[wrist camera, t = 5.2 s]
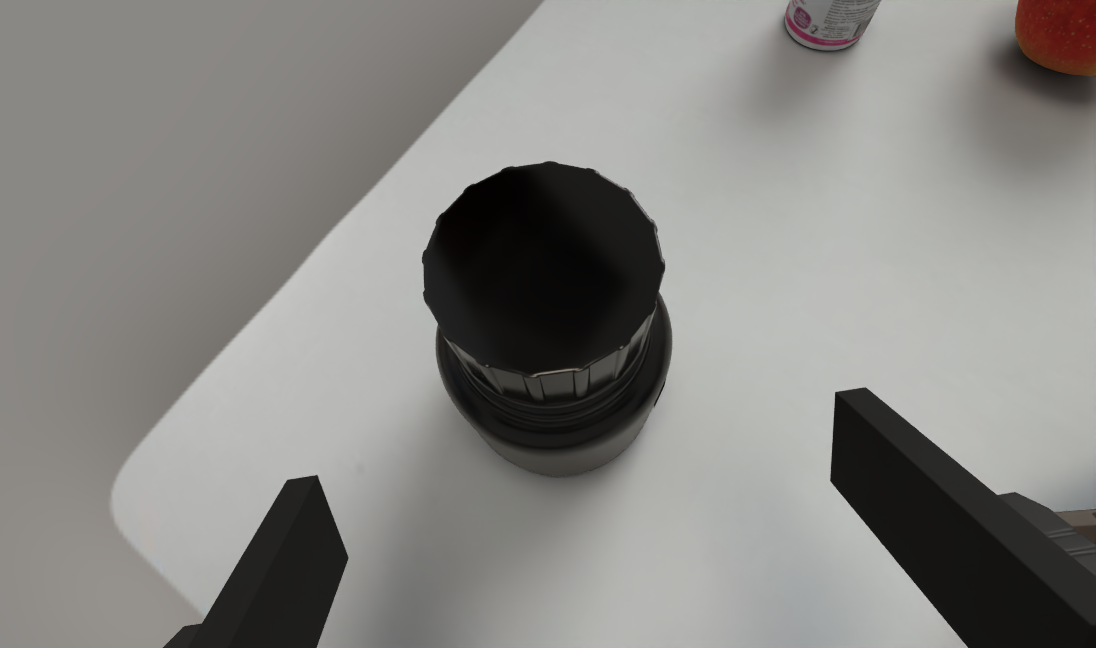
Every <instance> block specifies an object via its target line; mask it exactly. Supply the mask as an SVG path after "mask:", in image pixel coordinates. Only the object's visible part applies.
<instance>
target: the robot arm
mask: <svg viewBox="0 0 1096 648" xmlns="http://www.w3.org/2000/svg"><path fill="white" fill-rule="evenodd" d="M830 481H831V482H832V484H833V485H834V486H835V487H836V489H837V490H838V491H839V492H840V493H841V495H842V496H843V497H844V498H845V499H846V501H847V502H848V503H849V504H850V505H851V507H852V508H853V509H854V510H855V511H856V513H857V514H858V515H859V516H860V518H861V519H862V520H863V521H864V522H865V524H866V525H867V526H868V527H869V528H870V530H871V531H872V532H873V533H874V534H875V536H876V537H877V538H878V539H879V540H880V542H881V543H882V544H883V545H884V546H885V548H886V549H887V550H888V551H889V553H890V554H891V555H892V556H893V557H894V559H895V560H896V561H897V562H898V563H899V565H900V566H901V567H902V568H903V569H904V571H905V572H906V573H907V574H908V575H909V577H910V578H911V579H912V580H913V582H914V583H915V584H916V585H917V586H918V588H919V589H920V590H921V591H922V592H923V594H924V595H925V596H926V597H927V598H928V600H929V601H930V602H931V603H932V604H933V606H934V607H935V608H936V609H937V611H938V612H939V613H940V614H941V615H942V617H943V618H944V619H945V620H946V621H947V623H948V624H949V625H950V626H951V627H952V629H953V630H954V631H955V632H956V633H957V635H958V636H959V637H960V638H961V639H962V641H963V642H964V643H965V644H966V646H967V647H968V648H1096V544H1095V543H1093V542H1092V541H1091V540H1089V539H1088V538H1087V537H1085V536H1084V535H1083V534H1082V533H1079V534H1078V533H1077V532H1076V529H1075V528H1074V527H1072V526H1071V525H1070V524H1069V523H1067V522H1066V521H1065V520H1063V519H1062V518H1061V517H1059V516H1058V515H1057V514H1055V513H1054V512H1053V511H1052V510H1050V509H1049V508H1047V507H1045V506H1043V505H1041V504H1039V503H1037V502H1035V501H1032V500H1030V499H1028V498H1026V497H1024V496H1022V495H1020V494H1018V493H1016V492H1014V493H1008V494H1001V495H996V494H995V493H994V492H993V491H991V490H990V489H989V488H988V487H987V486H985V485H984V484H983V483H982V482H980V481H979V480H978V479H977V478H976V477H974V476H973V475H972V474H971V473H969V472H968V471H967V470H966V469H965V468H963V467H962V466H961V465H960V464H958V463H957V462H956V461H955V460H954V459H952V458H951V457H950V456H949V455H948V454H946V453H945V452H944V451H943V450H941V449H940V448H939V447H938V446H937V445H935V444H934V443H933V442H932V441H930V440H929V439H928V438H927V437H926V436H924V435H923V434H922V433H921V432H919V431H918V430H917V429H916V428H915V427H913V426H912V425H911V424H910V423H909V422H907V421H906V420H905V419H904V418H902V417H901V416H900V415H899V414H898V413H896V412H895V411H894V410H893V409H891V408H890V407H889V406H888V405H887V404H885V403H884V402H883V401H882V400H880V399H879V398H878V397H877V396H876V395H874V394H873V393H872V392H871V391H870V390H868V389H867V388H866V387H865V388H859V389H852V390H846V391H840V392H835V408H834V425H833V443H832V460H831V478H830ZM347 561H348V555H347V552H346V550H345V547H344V544H343V542H342V539H341V537H340V534H339V531H338V529H337V526H336V523H335V521H334V518H333V515H332V513H331V510H330V507H329V505H328V502H327V500H326V497H325V494H324V492H323V489H322V486H321V484H320V481H319V478H318V476H317V475H315V476H309V477H303V478H296V479H290V480H287V481H286V483H285V484H284V486H283V488H282V490H281V491H280V493H279V495H278V496H277V498H276V500H275V501H274V503H273V505H272V506H271V508H270V510H269V511H268V513H267V515H266V517H265V518H264V520H263V522H262V523H261V525H260V527H259V528H258V530H257V532H256V533H255V535H254V537H253V538H252V540H251V542H250V544H249V545H248V547H247V549H246V550H245V552H244V554H243V555H242V557H241V559H240V560H239V562H238V564H237V565H236V567H235V569H234V571H233V572H232V574H231V576H230V577H229V579H228V581H227V582H226V584H225V586H224V587H223V589H222V591H221V592H220V594H219V596H218V598H217V599H216V601H215V603H214V604H213V606H212V608H211V609H210V611H209V613H208V614H207V616H206V618H205V619H204V621H203V623H202V624H196V625H190V626H184V627H183V628H182V629H181V630H180V631H179V632H178V633H177V634H176V635H175V636H174V637H173V638H172V639H171V640H170V641H169V642H168V643H167V644H166V645H165V646H164V647H163V648H317V645H318V642H319V639H320V636H321V634H322V631H323V628H324V625H325V622H326V620H327V617H328V614H329V611H330V608H331V606H332V603H333V600H334V597H335V595H336V592H337V589H338V586H339V583H340V581H341V578H342V575H343V572H344V569H345V567H346V564H347Z"/></svg>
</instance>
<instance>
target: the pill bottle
mask: <svg viewBox="0 0 1096 648" xmlns="http://www.w3.org/2000/svg"><path fill="white" fill-rule="evenodd" d="M880 2H881V0H790V2H789V4H788V7H787V10H786V14H785V24H786V28H787V30H788V32H789V33H790V35H791V36H792V37H793V38H794V39H795V40H796V41H798V42H799V43H801V44H802V45H804V46H807V47H809V48H813V49H818V50H838V49H843V48H846V47H848V46H850V45H852V44H853V43H855V42H856V41H857V40H858V39H859V38H860V37H861V36H862V34H863V33H864V31H865V30H866V28H867V26H868V24H869V22H870V21H871V19H872V17H873V15H874V13H875V11H876V9H877V7H878V6H879V4H880Z"/></svg>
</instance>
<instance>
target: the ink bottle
mask: <svg viewBox="0 0 1096 648" xmlns="http://www.w3.org/2000/svg"><path fill="white" fill-rule="evenodd" d="M422 263H423V265H424V288H425V290H424V292H423V296H424V300H425V303H426V304H427V306H428V307H429V309H430V311H431V312H432V314H433V315H434V317H435V319H436V321H437V323H438V326H437V332H436V358H437V364H438V368H439V372H440V375H441V378H442V381H443V384H444V386H445V388H446V390H447V393H448V394H449V396H450V398H451V400H452V401H453V403H454V405H455V406H456V407H457V409H458V410H459V412H460V413H461V414H462V415H463V417H464V418H465V419H466V420H467V421H468V422H469V423H470V425H471V426H472V427H473V428H474V429H475V430H476V431H477V432H478V433H479V435H480V436H481V437H482V438H483V439H484V440H485V441H486V442H487V443H488V445H489V446H490V447H491V448H492V449H493V450H495V451H496V452H497V453H498V454H499V455H501V456H502V457H503V458H505V459H506V460H508V461H509V462H511V463H513V464H514V465H516V466H518V467H520V468H523V469H525V470H528V471H530V472H534V473H537V474H542V475H547V476H572V475H577V474H582V473H585V472H588V471H591V470H594V469H596V468H598V467H600V466H602V465H604V464H606V463H608V462H609V461H611V460H612V459H614V458H615V457H617V456H618V455H619V454H620V453H621V452H623V451H624V450H625V449H626V448H627V447H628V446H629V445H630V444H631V443H632V442H633V440H634V439H635V438H636V437H637V435H638V434H639V432H640V431H641V429H642V428H643V426H644V424H645V422H646V420H647V418H648V416H649V414H650V412H651V410H652V408H653V406H655V405H656V403H657V400H658V398H659V396H660V394H661V392H662V390H663V387H664V385H665V380H666V376H667V372H668V369H669V365H670V360H671V354H672V329H671V323H670V318H669V314H668V311H667V308H666V305H665V303H664V301H663V298H662V296H661V294H660V293H659V289H660V285H661V282H662V278H663V275H664V271H665V260H664V259H663V258H662V253H661V248H660V244H659V240H658V236H657V226H656V224H655V222H654V221H653V220H652V219H650V218H649V216H648V215H647V214H646V212H645V211H644V210H643V208H642V207H641V206H640V204H639V203H638V202H637V201H636V199H635V198H634V195H633V193H632V192H631V191H629V190H628V189H627V188H623V187H621V186H619V185H618V184H616V183H614V182H613V181H611V180H609V179H608V178H606V177H604V176H602V175H600V174H599V172H598V171H596V170H593V169H590V168H586V169H584V168H579V167H574V166H569V165H564V164H558V163H557V162H553V161H547V162H544V163H540V164H532V165H525V166H518V167H513V166H511V167H507V168H504V169H502V170H501V171H500V172H498V173H496V174H494V175H492V176H490V177H488V178H486V179H484V180H482V181H480V182H478V183H476V184H472V185H470V186H468V187H467V188H466V189H465V190H464V191H463V193H462V194H461V195H460V196H459V197H458V198H457V199H456V201H455V202H454V203H453V204H452V205H451V206H450V207H449V208H448V209H447V210H446V211H445V212H444V213H442V214H441V215H440V216H439V217H438V219H437V221H436V226H435V229H434V231H433V233H432V236H431V238H430V241H429V243H428V246H427V249H426V250H425V251H424V252H423V256H422Z"/></svg>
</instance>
